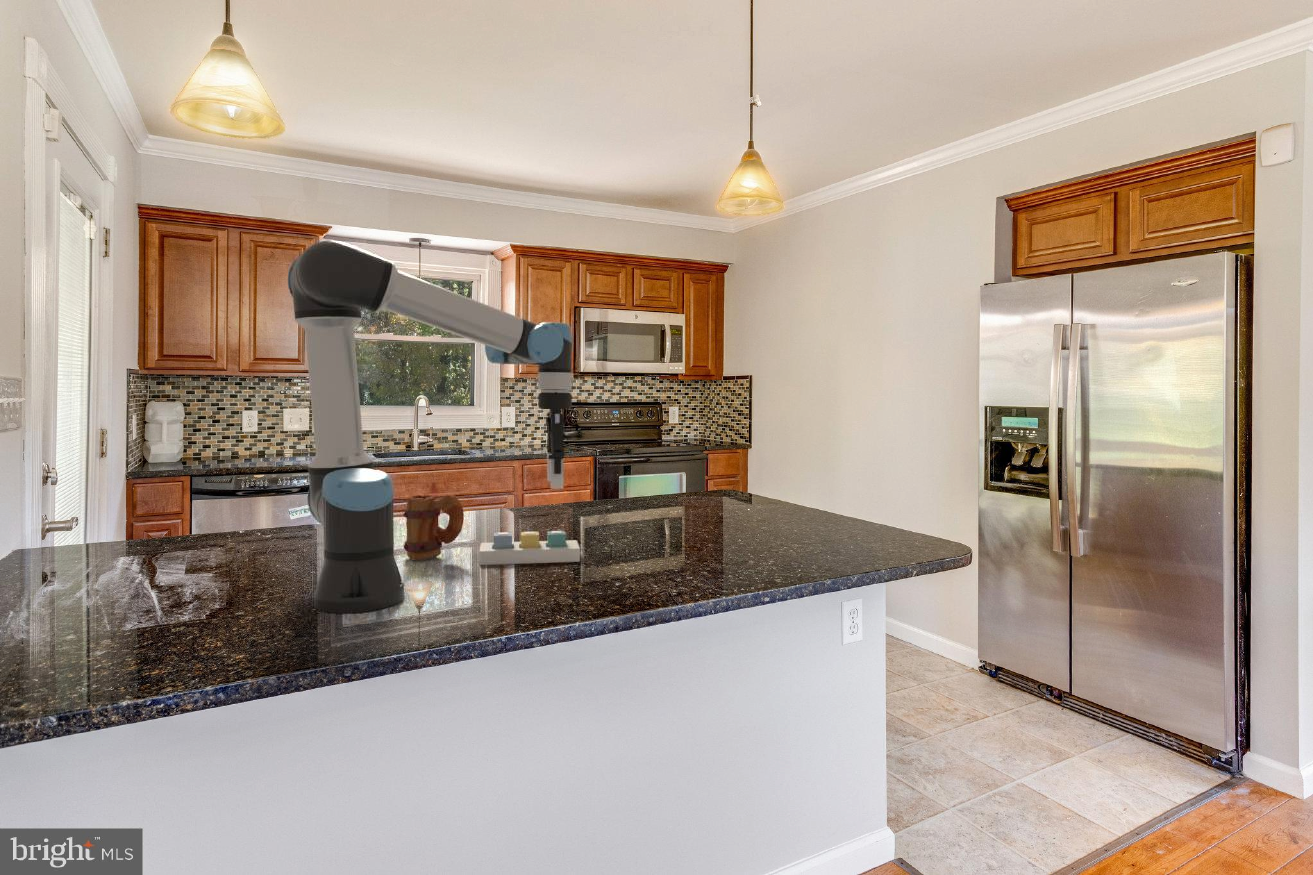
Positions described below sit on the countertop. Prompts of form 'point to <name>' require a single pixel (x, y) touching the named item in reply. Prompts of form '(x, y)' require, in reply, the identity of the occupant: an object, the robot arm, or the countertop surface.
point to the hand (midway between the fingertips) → (555, 484)
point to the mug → (431, 524)
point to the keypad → (529, 554)
